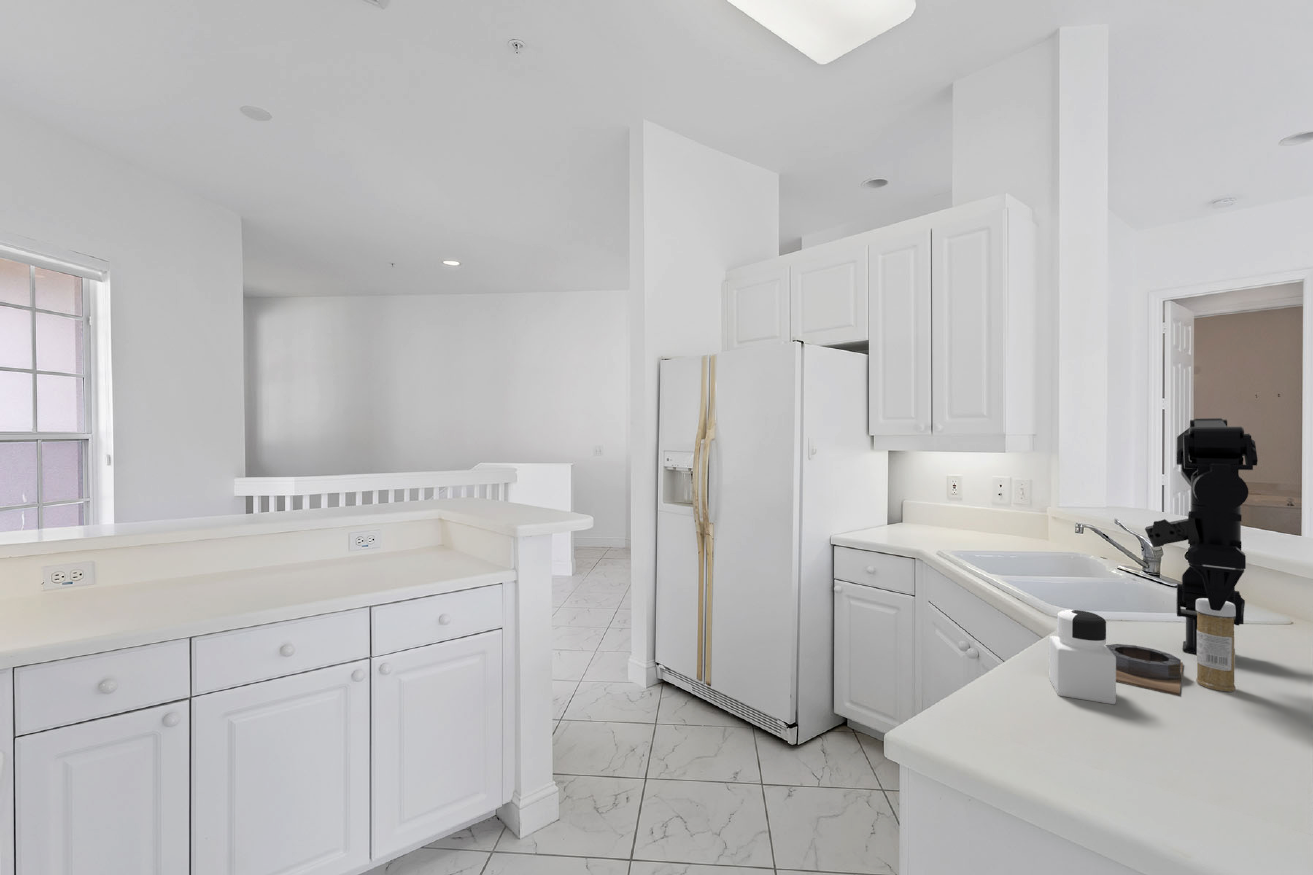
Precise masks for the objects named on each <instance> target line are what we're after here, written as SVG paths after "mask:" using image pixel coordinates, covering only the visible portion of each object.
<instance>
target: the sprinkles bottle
mask: <svg viewBox="0 0 1313 875" xmlns="http://www.w3.org/2000/svg"><path fill="white" fill-rule="evenodd" d="M1196 611H1197V654H1196V666H1197V667H1196V668H1197V669H1196V670H1197V671H1196V672H1197V673H1196V674H1197V678H1196V682H1197V684H1199V685H1201V686H1203V687H1205V688H1208V689H1211V690H1215V691H1220V692H1234V691H1236V688H1237V687H1236V685H1235V669H1236V649H1235V624H1234V618H1235V617H1234V616H1236V609H1235V605H1234V604H1233V603H1231V602H1227V601H1226V602H1225V604H1224V606H1223V607H1222V609H1221V610H1220V611H1216V610H1212V609H1211V608H1210V605H1209V601H1208V598H1199V599H1196Z"/></svg>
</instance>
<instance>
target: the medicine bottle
mask: <svg viewBox="0 0 1313 875" xmlns="http://www.w3.org/2000/svg"><path fill="white" fill-rule="evenodd" d="M1056 622H1057V623H1056V624H1057V630H1056V632H1057V635H1050V636H1049V641H1048V642H1049V644H1048V645H1049V648H1048V649H1049V650H1048V651H1049V652H1048V654H1049V656H1048V658H1049V660H1048V661H1049V662H1048V669H1049V672H1048V673H1049V674H1048V676H1049V677H1048V678H1049V680H1050V682H1051V684H1052V686H1053V688H1054V690H1055V692H1056V694H1057V695H1058V696H1060V697H1064V698H1065V697H1067V698H1072V699H1079V700H1085V701H1089V702H1096V703H1097V702H1098V703H1102V704H1103V703H1104V704H1108V705H1109V704H1110V705H1115V704H1116V703H1117V697H1116V696H1117V695H1116V694H1117V682H1116V656H1115V655H1114V654H1113V653H1112V652H1111V651H1110V650H1109V649H1108V648H1107V647H1106V645H1107V621H1106V619H1105V618H1103V617H1102V616H1100V615H1099V614H1097V613H1095V612H1089V611H1086V610H1080V609H1079V610H1078V609H1065V610H1061V611H1059V612H1058V613H1057V621H1056Z"/></svg>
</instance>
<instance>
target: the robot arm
mask: <svg viewBox="0 0 1313 875" xmlns="http://www.w3.org/2000/svg"><path fill="white" fill-rule="evenodd" d="M1175 454H1176V455H1175V456H1176V458H1175V459H1176V460H1175V461H1176V465H1179V466H1180V471H1181V472H1180V475H1181V476H1182V478H1183V479H1184V480H1185V482H1186V483H1187V484H1188V485H1189V486H1190V504H1191V505H1190V509H1191V510H1190V511H1188V512H1187V513H1188V514H1187V517H1188V518H1184V519H1178V520H1174V521H1168V520H1167V519H1162V520H1154V521H1153V524H1152V525H1149V526H1146V527H1144V530H1145V532H1146V535H1147V537H1148V539H1149V542H1150V544H1151V546H1152V548H1158V547H1163V546H1164V545H1169V544H1174V543H1178V542H1184V541H1187V544H1188V545H1189V547H1188V548H1187V563H1188V567H1187V569H1186V570H1185V571H1184V572H1183V573H1182V575H1181V583H1176V597H1175V598H1176V600H1175V601H1176V607H1175V608H1176V616H1177V617H1178V618H1179V617H1180V618H1181V617H1183V618H1185V640H1184V641H1183V642H1182V651H1183V652H1186V653H1191V654H1196V655H1197V611H1196V599H1199V598H1208V601H1209V605H1210V608H1211V609H1212V610H1216V611H1220V610H1221V609H1222V607H1223V606H1224V604H1225V602H1226V601H1227V602H1231V603H1233V604H1234V605H1235V609H1236V616H1234V617H1235V618H1234V626H1240V625H1244V620H1245V618H1244V617H1245V615H1244V614H1245V606H1246V605H1245V604H1246V600H1245V599H1244V598H1243V597H1242V595H1241V594H1240V591H1239V590H1236V589H1235V588H1236V586H1237V584H1238V583H1239V580H1240V579H1241V577H1242V575H1243V574H1244V573H1245V569H1246V568H1247V567H1246V566H1247V565H1246V561H1247V559H1246V557H1247V556H1246V554H1245V552H1243V551H1242V534H1241V533H1242V531H1241V530H1242V526H1241V525H1242V524H1241V522H1242V505H1243V504H1244V503H1245V502H1246V501H1247V499H1248V496H1249V487H1248V485H1247V483H1246V481H1245V480H1244V479H1243V478H1242V477H1240V475H1239V471H1253V470H1254V466H1256V467H1257V466H1258V462H1259V460H1258V455H1257V446H1256V440H1254V439H1253V438H1252V435H1251V434H1250V433H1245V429H1244V427H1242V426H1228V420H1227V419H1223V418H1222V417H1221V418H1217V417H1216V418H1214V417H1213V418H1211V417H1210V418H1194V419H1190V420H1189V427H1188V428H1187V429H1186V430H1184V431H1183V432H1182V433H1181V434H1178V435H1177V437H1176V452H1175ZM1244 463H1245V464H1244Z"/></svg>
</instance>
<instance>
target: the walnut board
mask: <svg viewBox="0 0 1313 875" xmlns="http://www.w3.org/2000/svg"><path fill="white" fill-rule="evenodd" d="M1183 667H1184V663H1183V662H1182V661H1181V675H1180V679H1175V680H1158V679H1148V678H1144V677H1139V676H1135V675H1130V674H1127V673H1124V672H1121V671H1118V670H1116V683H1117V682H1118V683H1122V684H1125V685H1130V686H1135V687H1139V688H1142V689H1148V690H1152V691H1156V692H1157V691H1158V692H1161V693H1165V694H1169V695H1173V696H1177V697H1178V696H1180V691H1181V685H1182V684H1181V683H1182V674H1183Z"/></svg>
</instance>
